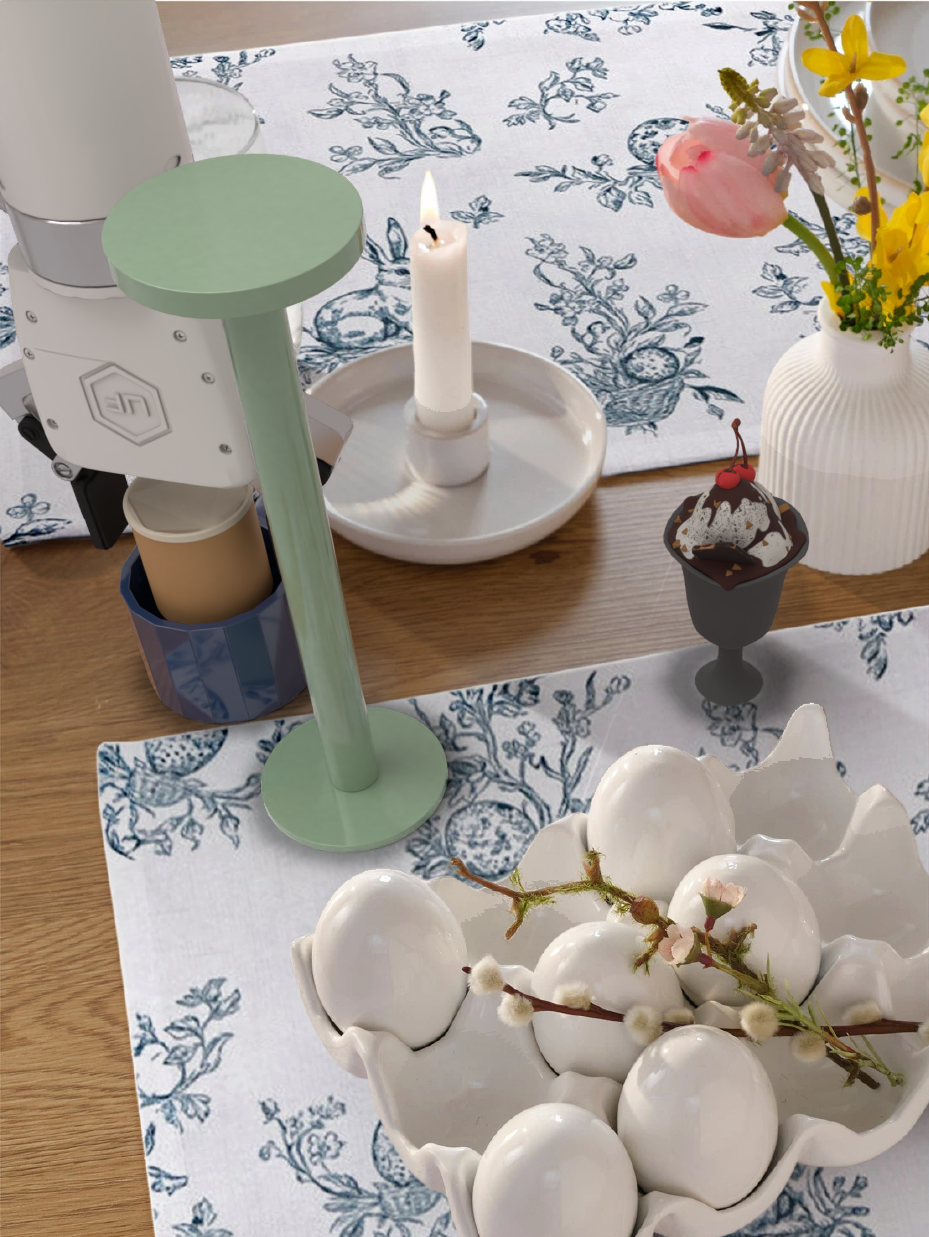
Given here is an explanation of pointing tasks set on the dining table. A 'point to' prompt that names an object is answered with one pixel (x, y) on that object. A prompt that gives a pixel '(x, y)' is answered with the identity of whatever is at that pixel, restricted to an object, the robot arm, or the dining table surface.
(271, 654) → the mug
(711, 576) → the sundae
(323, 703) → the green pedestal stand
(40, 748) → the dining table surface
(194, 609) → the paper cup
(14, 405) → the robot arm
